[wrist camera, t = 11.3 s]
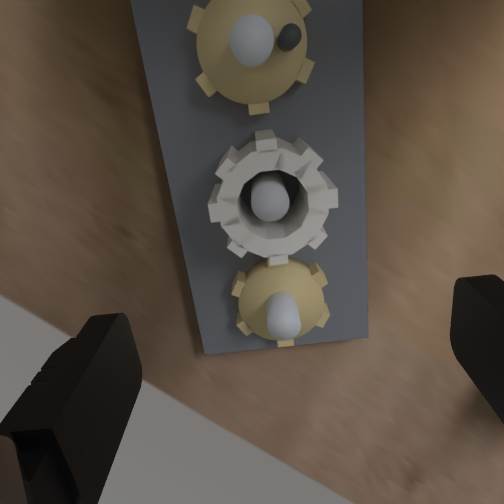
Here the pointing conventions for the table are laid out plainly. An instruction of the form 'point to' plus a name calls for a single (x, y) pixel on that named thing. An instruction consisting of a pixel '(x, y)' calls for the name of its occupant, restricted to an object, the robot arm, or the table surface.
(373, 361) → the table surface
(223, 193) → the ivory gear
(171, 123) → the gear board
